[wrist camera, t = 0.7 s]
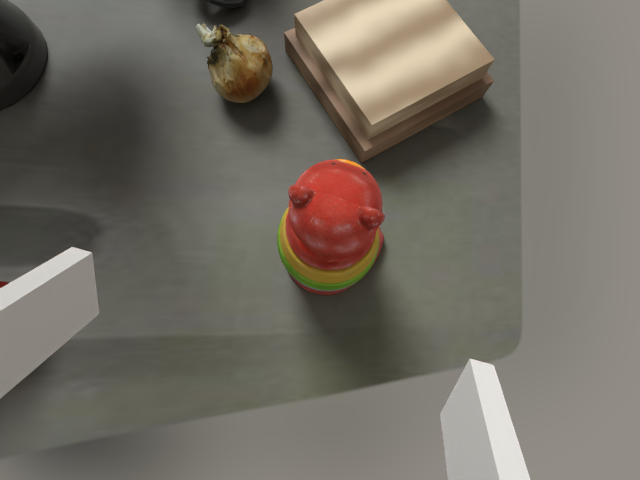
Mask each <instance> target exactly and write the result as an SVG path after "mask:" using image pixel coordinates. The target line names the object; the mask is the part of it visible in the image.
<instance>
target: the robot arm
mask: <svg viewBox="0 0 640 480" xmlns="http://www.w3.org/2000/svg"><path fill="white" fill-rule="evenodd" d="M46 58H47V47H46V42H45V39H44V37H43V35H42V33H41V31H40V30H39V29H38V27H37V26H36V25H35V24H34V23H33V22H32V21H31V20H30V18H29V17H28V16H27V15H26V14H25V13H24V12H23V11H22V10H20V9H19V8H18V7H17V6H15V5H14V4H12V3H11V2H9V1H8V0H0V109H2V108H5V107H7V106H9V105H11V104H13V103H14V102H16V101H17V100H19V99H20V98H22V97H23V96H24V95H25V94H26V93H27V92H28V91H30V89H31V88H32V87H33V86H34V85H35V84H36V82H37V81H38V79H39V78H40V76H41V74H42V72H43V70H44V67H45V63H46ZM98 315H99V306H98V297H97V289H96V280H95V271H94V262H93V254H92V252H89V251H85V250H82V249H78V248H74V247H71V248H69V249H68V250H66V251H64V252H62V253H61V254H59V255H57V256H55V257H54V258H52V259H50V260H49V261H47V262H45V263H43V264H42V265H40V266H38V267H36V268H35V269H33V270H31V271H29V272H28V273H26V274H24V275H23V276H21V277H19V278H17V279H16V280H14V281H12V282H10V283H9V284H7V285H5V286H3V287H2V288H0V399H1V398H2V397H3V396H4V395H5V394H6V393H8V392H9V391H10V390H11V389H12V388H13V387H15V386H16V385H17V384H18V383H19V382H20V381H22V380H23V379H24V378H25V377H26V376H27V375H29V374H30V373H31V372H32V371H33V370H34V369H36V368H37V367H38V366H39V365H40V364H41V363H43V362H44V361H45V360H46V359H47V358H48V357H50V356H51V355H52V354H53V353H54V352H55V351H57V350H58V349H59V348H60V347H61V346H63V345H64V344H65V343H66V342H67V341H68V340H70V339H71V338H72V337H73V336H74V335H75V334H77V333H78V332H79V331H80V330H81V329H82V328H84V327H85V326H86V325H87V324H88V323H89V322H91V321H92V320H93V319H94V318H95V317H96V316H98ZM440 417H441V426H442V434H443V442H444V450H445V459H446V467H447V474H448V480H530V477H529V474H528V471H527V468H526V465H525V461H524V458H523V455H522V452H521V449H520V446H519V443H518V440H517V437H516V433H515V431H514V427H513V424H512V421H511V418H510V414H509V411H508V408H507V405H506V402H505V399H504V396H503V392H502V389H501V386H500V383H499V380H498V377H497V374H496V371H495V368H494V365H491V364H487V363H484V362H480V361H477V360H473V359H469V361H468V363H467V365H466V367H465V368H464V370H463V372H462V374H461V376H460V378H459V380H458V382H457V383H456V385H455V387H454V389H453V391H452V393H451V395H450V397H449V398H448V400H447V402H446V404H445V406H444V408H443V409H442V412H441V413H440Z"/></svg>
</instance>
